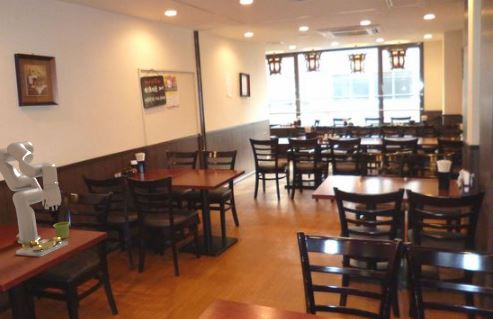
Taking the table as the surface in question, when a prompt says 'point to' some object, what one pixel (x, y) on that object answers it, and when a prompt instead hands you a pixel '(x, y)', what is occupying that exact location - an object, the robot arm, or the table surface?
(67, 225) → the plant pot
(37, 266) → the table surface
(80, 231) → the table surface
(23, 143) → the robot arm
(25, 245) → the knob near
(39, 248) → the knob
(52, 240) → the knob
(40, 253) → the base plate
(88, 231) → the table surface
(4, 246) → the table surface
